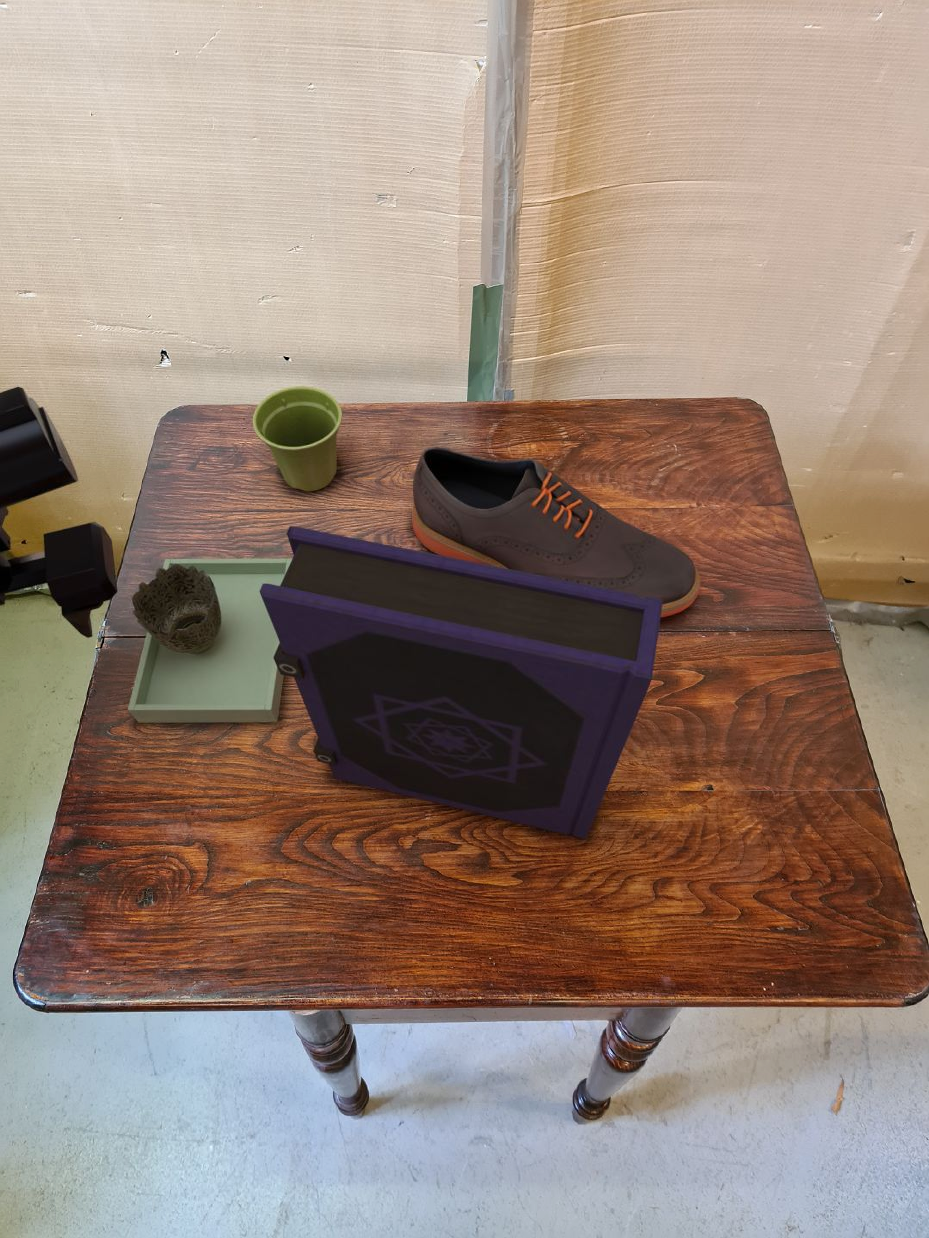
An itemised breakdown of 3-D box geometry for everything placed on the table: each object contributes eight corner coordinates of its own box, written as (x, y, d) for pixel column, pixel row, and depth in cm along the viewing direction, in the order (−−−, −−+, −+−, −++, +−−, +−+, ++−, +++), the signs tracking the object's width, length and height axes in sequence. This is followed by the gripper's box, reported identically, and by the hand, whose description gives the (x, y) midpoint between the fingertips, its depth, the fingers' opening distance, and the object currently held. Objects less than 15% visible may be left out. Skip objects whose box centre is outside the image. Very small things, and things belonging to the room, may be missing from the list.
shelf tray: (138, 722, 75) (127, 710, 73) (173, 574, 84) (164, 558, 82) (277, 722, 75) (271, 709, 73) (297, 573, 84) (292, 558, 82)
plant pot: (330, 432, 95) (318, 375, 88) (365, 483, 91) (356, 427, 83) (257, 461, 93) (239, 405, 85) (289, 515, 88) (273, 461, 81)
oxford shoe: (679, 652, 79) (708, 588, 69) (391, 563, 85) (381, 492, 75) (702, 567, 84) (732, 496, 75) (430, 489, 90) (425, 414, 81)
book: (596, 777, 72) (664, 592, 46) (584, 845, 69) (651, 684, 43) (348, 720, 75) (286, 517, 50) (326, 781, 72) (247, 598, 46)
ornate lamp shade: (191, 688, 76) (164, 646, 69) (145, 644, 79) (114, 599, 72) (251, 638, 79) (231, 593, 72) (205, 597, 82) (181, 550, 75)
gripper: (60, 410, 57) (138, 543, 70) (-223, 472, 54) (-86, 599, 67) (69, 527, 51) (152, 648, 64) (-247, 603, 48) (-92, 713, 61)
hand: (31, 647), depth 64 cm, fingers open, 9 cm apart
